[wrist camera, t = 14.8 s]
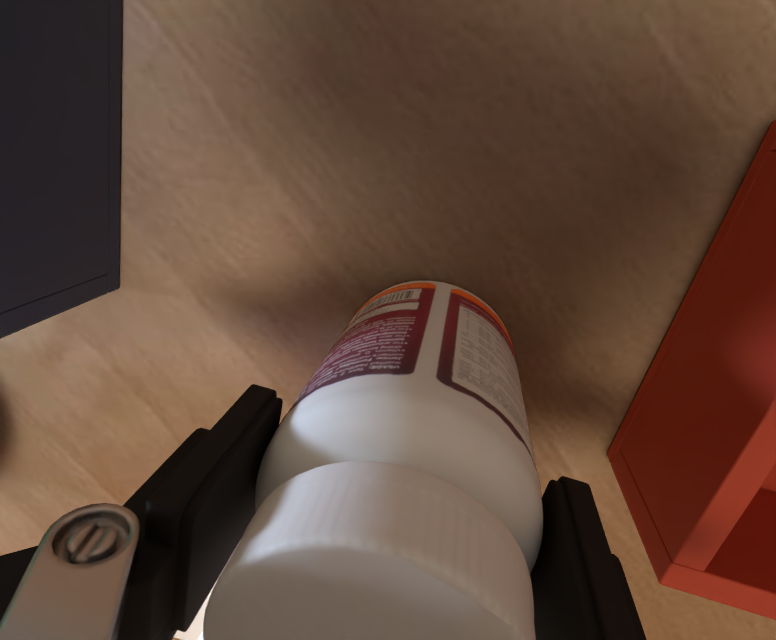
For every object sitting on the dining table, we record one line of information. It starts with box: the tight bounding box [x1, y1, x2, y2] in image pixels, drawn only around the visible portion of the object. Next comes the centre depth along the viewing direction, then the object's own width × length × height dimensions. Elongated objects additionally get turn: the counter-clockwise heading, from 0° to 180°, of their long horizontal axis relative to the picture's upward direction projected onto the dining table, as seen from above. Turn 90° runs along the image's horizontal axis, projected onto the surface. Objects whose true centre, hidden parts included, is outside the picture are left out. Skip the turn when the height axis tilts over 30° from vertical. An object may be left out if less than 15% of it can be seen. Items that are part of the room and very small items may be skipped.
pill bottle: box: [203, 281, 543, 640], centre depth 12 cm, size 6×6×11 cm
